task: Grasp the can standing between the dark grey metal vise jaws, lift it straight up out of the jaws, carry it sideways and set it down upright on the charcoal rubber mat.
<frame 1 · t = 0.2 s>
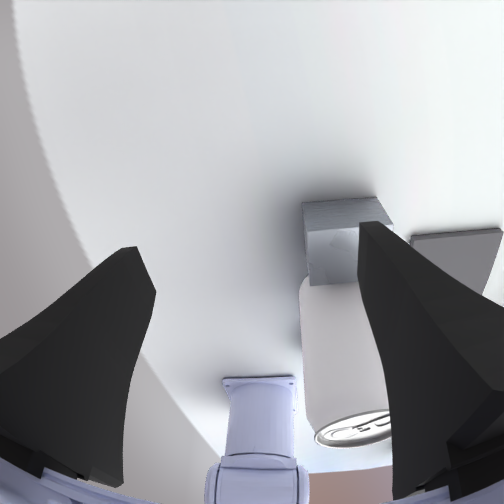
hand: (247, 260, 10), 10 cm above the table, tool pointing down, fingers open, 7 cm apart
mat: (448, 276, 23), on the table
can: (338, 287, 24), on the table
vise: (338, 289, 24), on the table
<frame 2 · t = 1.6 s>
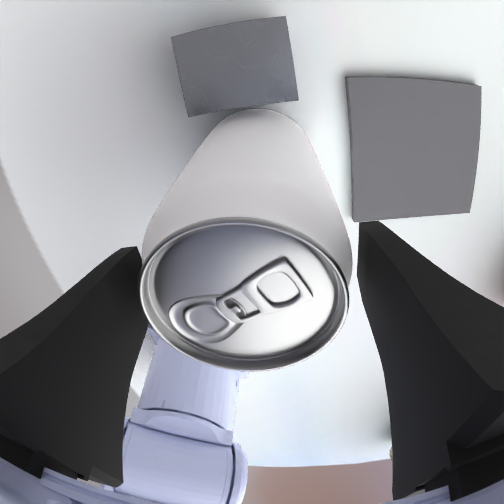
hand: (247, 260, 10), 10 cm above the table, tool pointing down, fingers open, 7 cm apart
mat: (418, 149, 16), on the table
can: (258, 159, 18), on the table
vise: (258, 160, 18), on the table
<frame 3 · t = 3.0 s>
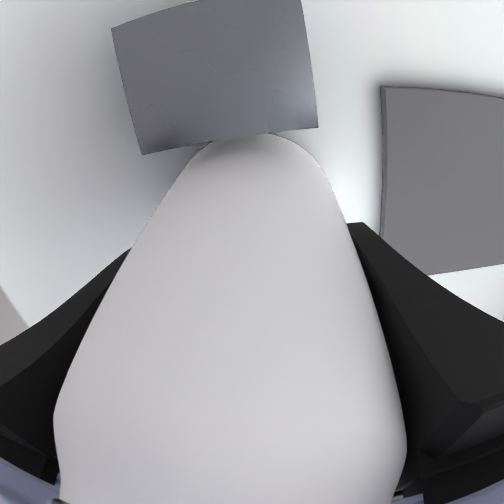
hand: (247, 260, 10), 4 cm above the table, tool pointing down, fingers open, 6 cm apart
mat: (466, 187, 12), on the table
can: (254, 201, 13), on the table, touching gripper
vise: (253, 203, 13), on the table
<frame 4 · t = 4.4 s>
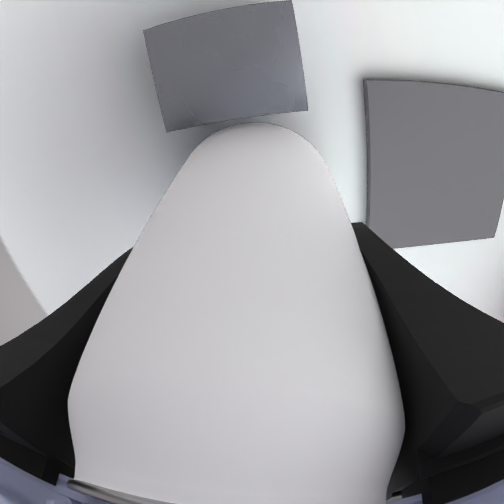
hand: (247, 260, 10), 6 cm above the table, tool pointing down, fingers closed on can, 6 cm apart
mat: (444, 167, 14), on the table
can: (256, 189, 13), point 2 cm above the table, touching gripper
vise: (256, 180, 15), on the table
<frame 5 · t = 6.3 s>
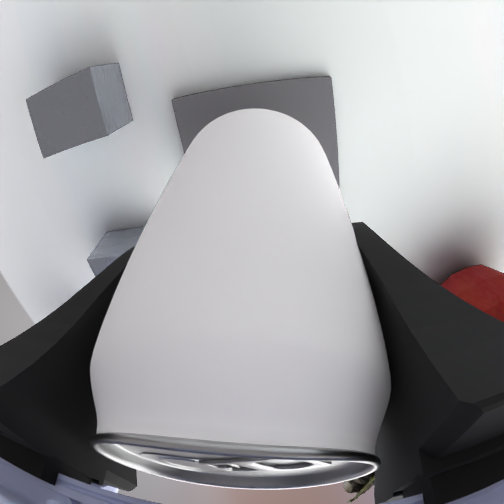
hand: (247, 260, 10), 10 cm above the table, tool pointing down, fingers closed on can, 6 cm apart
hollow geode rock: (376, 415, 39), on the table
mat: (262, 155, 18), on the table
apple: (455, 285, 24), on the table
can: (256, 171, 14), point 5 cm above the table, touching gripper
vise: (116, 181, 20), on the table
when the fingers open (6 cm above the table, at t = 8.2 s): can stays where it is, resting on mat.
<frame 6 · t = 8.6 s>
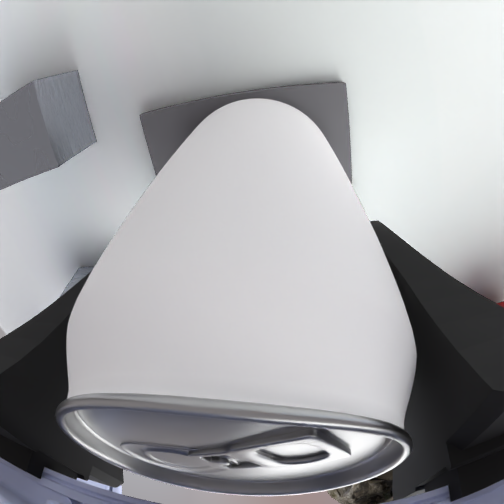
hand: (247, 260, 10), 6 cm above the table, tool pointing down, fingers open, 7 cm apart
hollow geode rock: (377, 441, 36), on the table
mat: (255, 184, 15), on the table
can: (258, 165, 14), resting on mat
vise: (84, 212, 16), on the table
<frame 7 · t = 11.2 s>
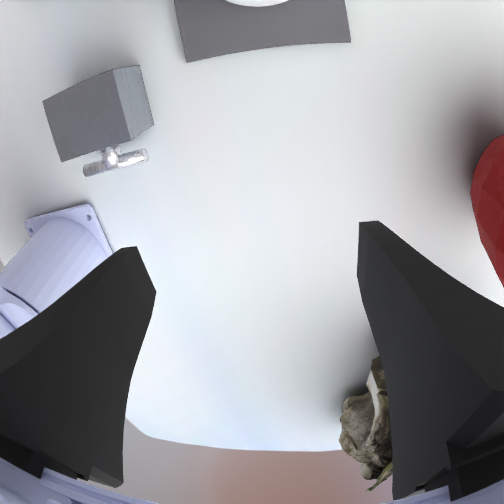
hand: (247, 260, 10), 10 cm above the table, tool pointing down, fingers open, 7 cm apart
hollow geode rock: (396, 378, 33), on the table
apple: (495, 171, 17), on the table
vise: (93, 26, 13), on the table
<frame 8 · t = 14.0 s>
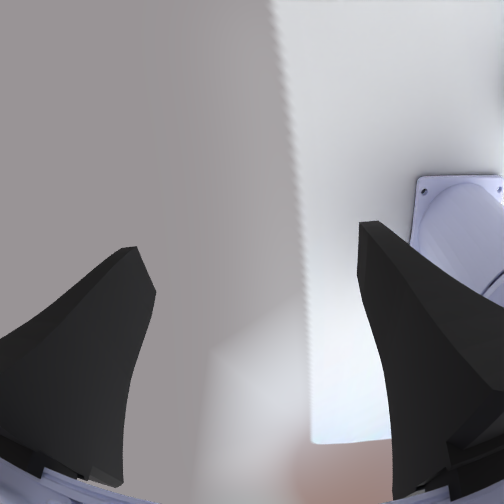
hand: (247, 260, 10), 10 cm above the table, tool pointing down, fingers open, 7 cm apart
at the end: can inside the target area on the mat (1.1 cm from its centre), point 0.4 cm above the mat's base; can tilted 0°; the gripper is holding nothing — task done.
